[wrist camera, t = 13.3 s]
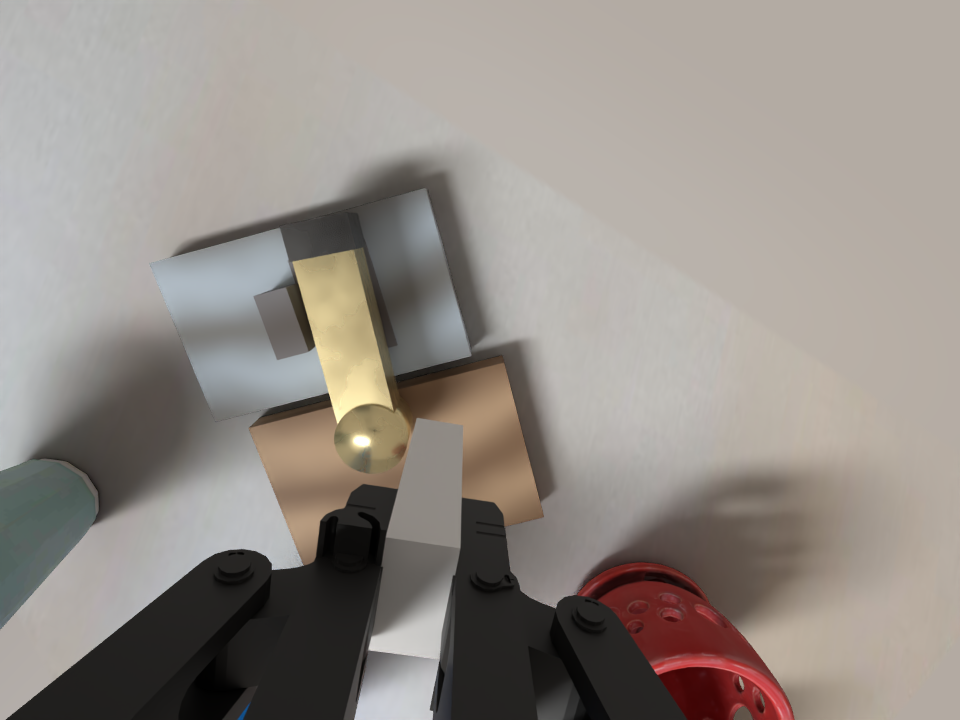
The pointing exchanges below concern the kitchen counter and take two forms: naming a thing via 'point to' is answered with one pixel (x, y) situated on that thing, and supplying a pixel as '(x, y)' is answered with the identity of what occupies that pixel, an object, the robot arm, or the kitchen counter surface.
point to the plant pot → (689, 643)
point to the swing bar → (349, 340)
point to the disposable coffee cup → (39, 524)
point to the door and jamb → (298, 372)
